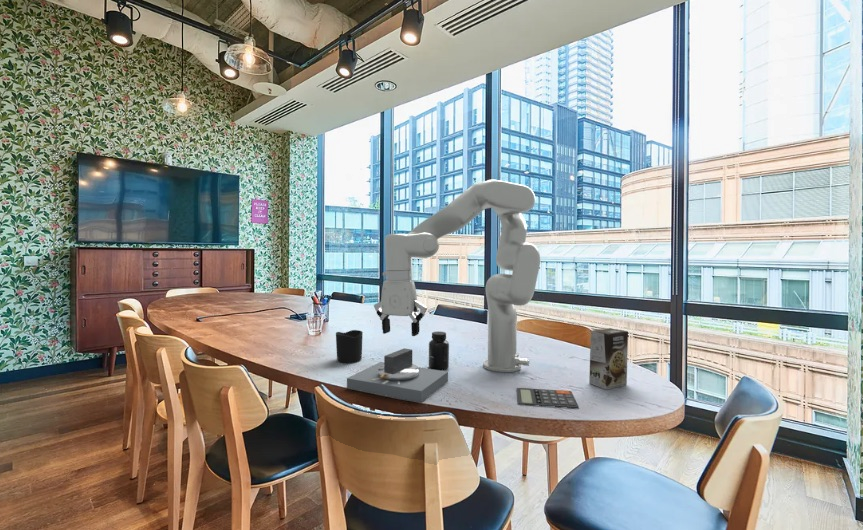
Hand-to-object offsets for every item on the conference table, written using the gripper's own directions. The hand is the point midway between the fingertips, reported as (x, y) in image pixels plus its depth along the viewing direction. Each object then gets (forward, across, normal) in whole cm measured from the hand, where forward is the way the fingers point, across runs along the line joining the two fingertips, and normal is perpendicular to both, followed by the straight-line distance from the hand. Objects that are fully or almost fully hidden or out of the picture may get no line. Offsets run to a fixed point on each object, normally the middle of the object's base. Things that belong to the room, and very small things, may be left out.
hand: (400, 333), depth 117 cm
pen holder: (+15, -30, +14) cm, 36 cm away
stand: (+15, -1, -1) cm, 15 cm away
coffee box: (+17, +55, +26) cm, 63 cm away
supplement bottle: (+16, +3, +19) cm, 25 cm away
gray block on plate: (+12, -1, -2) cm, 12 cm away
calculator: (+17, +40, +7) cm, 44 cm away
